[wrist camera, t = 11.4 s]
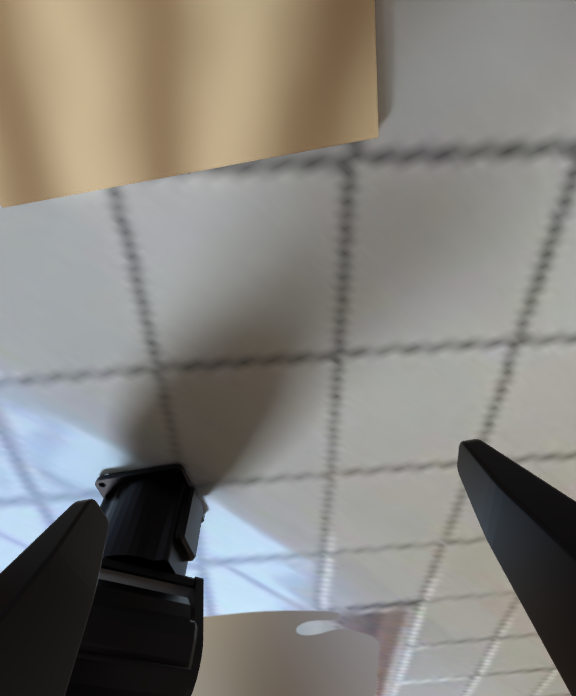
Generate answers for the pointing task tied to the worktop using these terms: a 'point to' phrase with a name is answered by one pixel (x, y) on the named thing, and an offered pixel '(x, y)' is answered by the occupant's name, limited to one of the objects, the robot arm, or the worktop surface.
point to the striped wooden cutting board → (175, 87)
